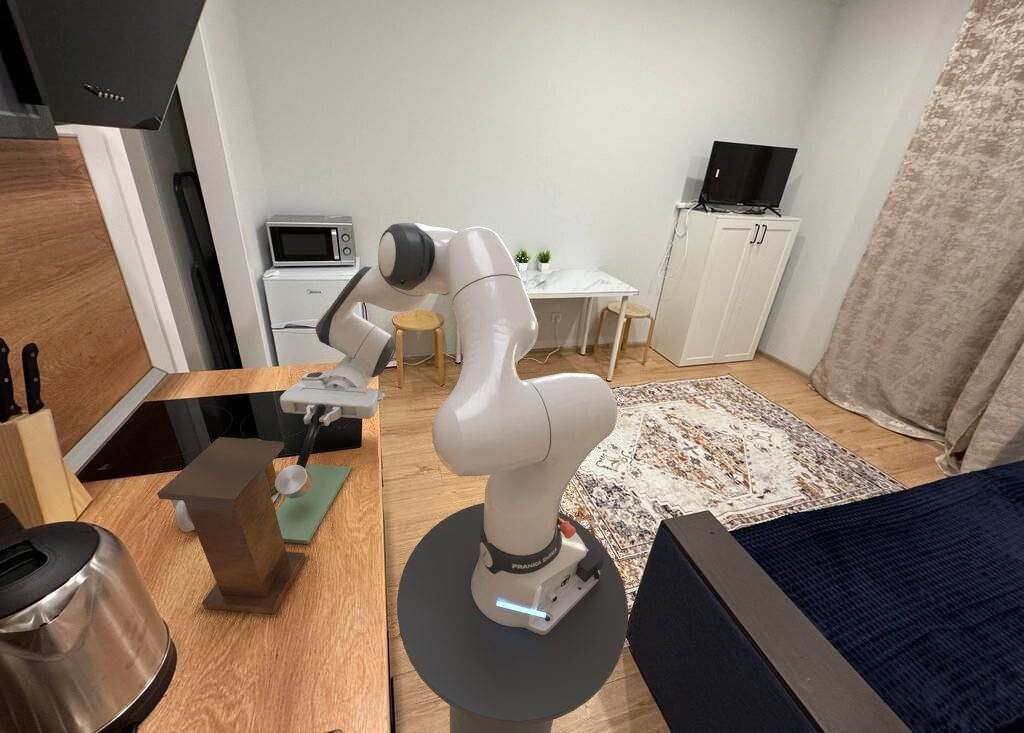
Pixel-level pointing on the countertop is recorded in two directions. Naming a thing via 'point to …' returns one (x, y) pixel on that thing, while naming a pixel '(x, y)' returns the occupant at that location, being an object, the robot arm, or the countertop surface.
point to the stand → (237, 524)
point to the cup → (182, 516)
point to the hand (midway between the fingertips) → (315, 422)
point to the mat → (310, 503)
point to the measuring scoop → (300, 464)
